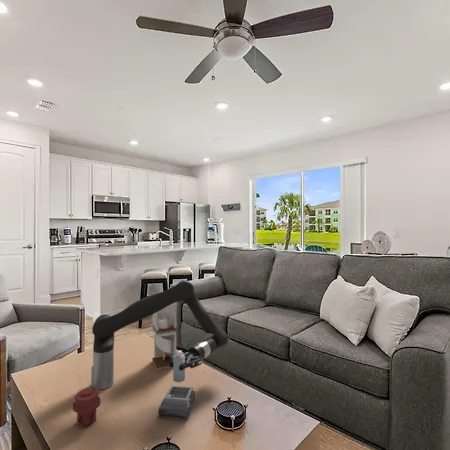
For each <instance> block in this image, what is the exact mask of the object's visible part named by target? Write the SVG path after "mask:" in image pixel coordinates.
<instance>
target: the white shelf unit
mask: <svg viewBox="0 0 450 450" xmlns="http://www.w3.org/2000/svg"><path fill="white" fill-rule="evenodd" d="M177 303H178V302H176V303H173V304H171V305H169V306H167V307H165V308H164V309H162V310H160V311H158V312H156V313H154V314H153V315H152V332H153V334H154V346H153V347H154V350H153V351H154V352H153V353H154V355H153V356H154V357H152V358H151V359H152V363H153V365H154V368H155V370H156V371H160V370H161V371H162V370H165V369H171V368H172V367H169V362H170V361H172V360H173V356H174V355H175V354H176V351H177V314H178V313H177V312H178V311H177V309H178V307H177V306H178V304H177Z"/></svg>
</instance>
